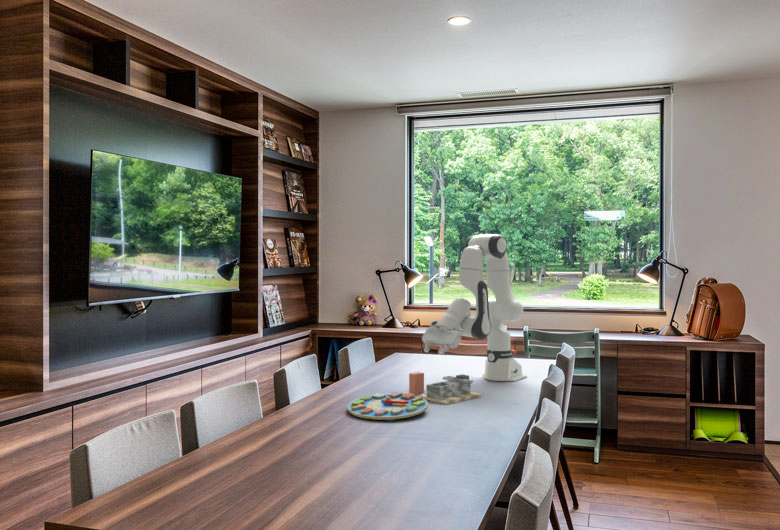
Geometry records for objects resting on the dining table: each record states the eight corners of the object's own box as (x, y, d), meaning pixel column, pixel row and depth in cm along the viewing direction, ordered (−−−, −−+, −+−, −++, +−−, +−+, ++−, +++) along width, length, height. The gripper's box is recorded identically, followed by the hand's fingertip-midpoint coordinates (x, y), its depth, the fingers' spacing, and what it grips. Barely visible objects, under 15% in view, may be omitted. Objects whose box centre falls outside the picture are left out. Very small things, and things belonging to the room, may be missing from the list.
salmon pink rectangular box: (418, 392, 276) (418, 371, 276) (423, 393, 273) (424, 373, 273) (409, 394, 272) (409, 373, 272) (414, 395, 270) (414, 374, 269)
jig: (453, 390, 280) (453, 372, 280) (481, 396, 268) (481, 377, 268) (418, 397, 265) (418, 378, 265) (446, 404, 253) (446, 384, 253)
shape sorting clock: (331, 412, 241) (331, 397, 241) (385, 399, 263) (386, 385, 263) (390, 427, 220) (390, 410, 220) (444, 412, 242) (444, 396, 242)
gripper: (468, 334, 278) (453, 360, 272) (435, 330, 293) (421, 354, 288) (461, 325, 275) (445, 351, 269) (428, 321, 290) (413, 345, 285)
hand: (432, 352), depth 278 cm, fingers open, 8 cm apart
